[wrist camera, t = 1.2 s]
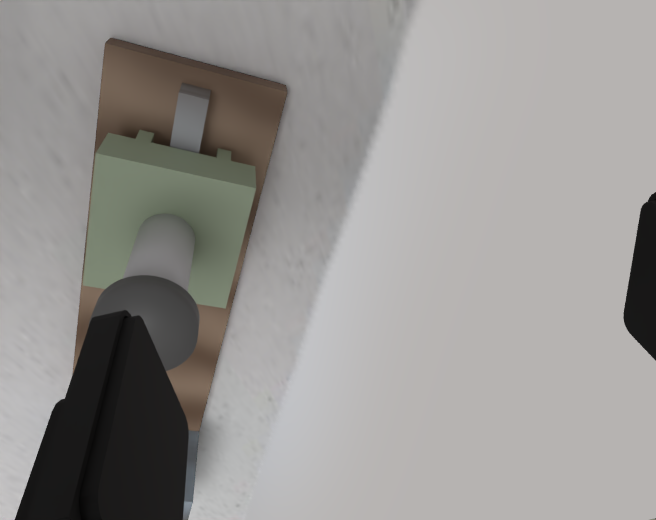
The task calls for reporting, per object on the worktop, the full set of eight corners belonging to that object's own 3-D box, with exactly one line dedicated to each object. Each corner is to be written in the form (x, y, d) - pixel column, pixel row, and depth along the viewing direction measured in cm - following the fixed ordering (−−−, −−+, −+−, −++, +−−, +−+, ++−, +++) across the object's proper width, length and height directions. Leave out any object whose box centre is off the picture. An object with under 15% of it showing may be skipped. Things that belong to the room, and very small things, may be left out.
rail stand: (183, 481, 51) (174, 568, 44) (66, 472, 49) (37, 562, 42) (285, 85, 34) (296, 129, 27) (110, 37, 31) (73, 73, 24)
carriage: (227, 267, 37) (220, 412, 26) (100, 244, 35) (36, 391, 24) (254, 156, 33) (259, 273, 23) (113, 123, 31) (45, 234, 21)
